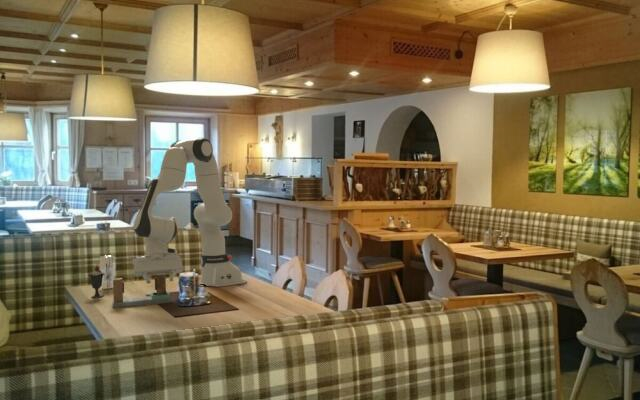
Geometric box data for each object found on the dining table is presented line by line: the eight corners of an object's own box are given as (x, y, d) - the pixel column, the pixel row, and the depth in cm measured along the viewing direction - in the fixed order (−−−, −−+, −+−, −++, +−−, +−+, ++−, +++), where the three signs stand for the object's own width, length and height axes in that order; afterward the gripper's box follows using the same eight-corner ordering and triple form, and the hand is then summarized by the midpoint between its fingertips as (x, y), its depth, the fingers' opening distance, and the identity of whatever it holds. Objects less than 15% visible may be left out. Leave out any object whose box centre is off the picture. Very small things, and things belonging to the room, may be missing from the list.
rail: (168, 299, 246) (167, 273, 246) (170, 302, 240) (169, 276, 239) (112, 304, 238) (111, 277, 238) (113, 308, 232) (112, 280, 231)
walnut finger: (165, 295, 244) (164, 274, 244) (166, 297, 241) (165, 275, 240) (155, 296, 243) (154, 275, 242) (155, 298, 239) (155, 276, 239)
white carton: (112, 289, 270) (111, 257, 270) (98, 289, 270) (96, 257, 270) (118, 286, 277) (117, 255, 277) (103, 286, 277) (102, 255, 277)
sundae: (98, 299, 249) (97, 264, 248) (85, 298, 251) (84, 263, 251) (108, 295, 255) (107, 262, 255) (96, 295, 258) (94, 261, 257)
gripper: (131, 252, 246) (134, 279, 237) (180, 249, 253) (184, 275, 245) (131, 261, 250) (134, 288, 242) (179, 258, 258) (183, 283, 249)
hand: (160, 281), depth 243 cm, fingers open, 8 cm apart
